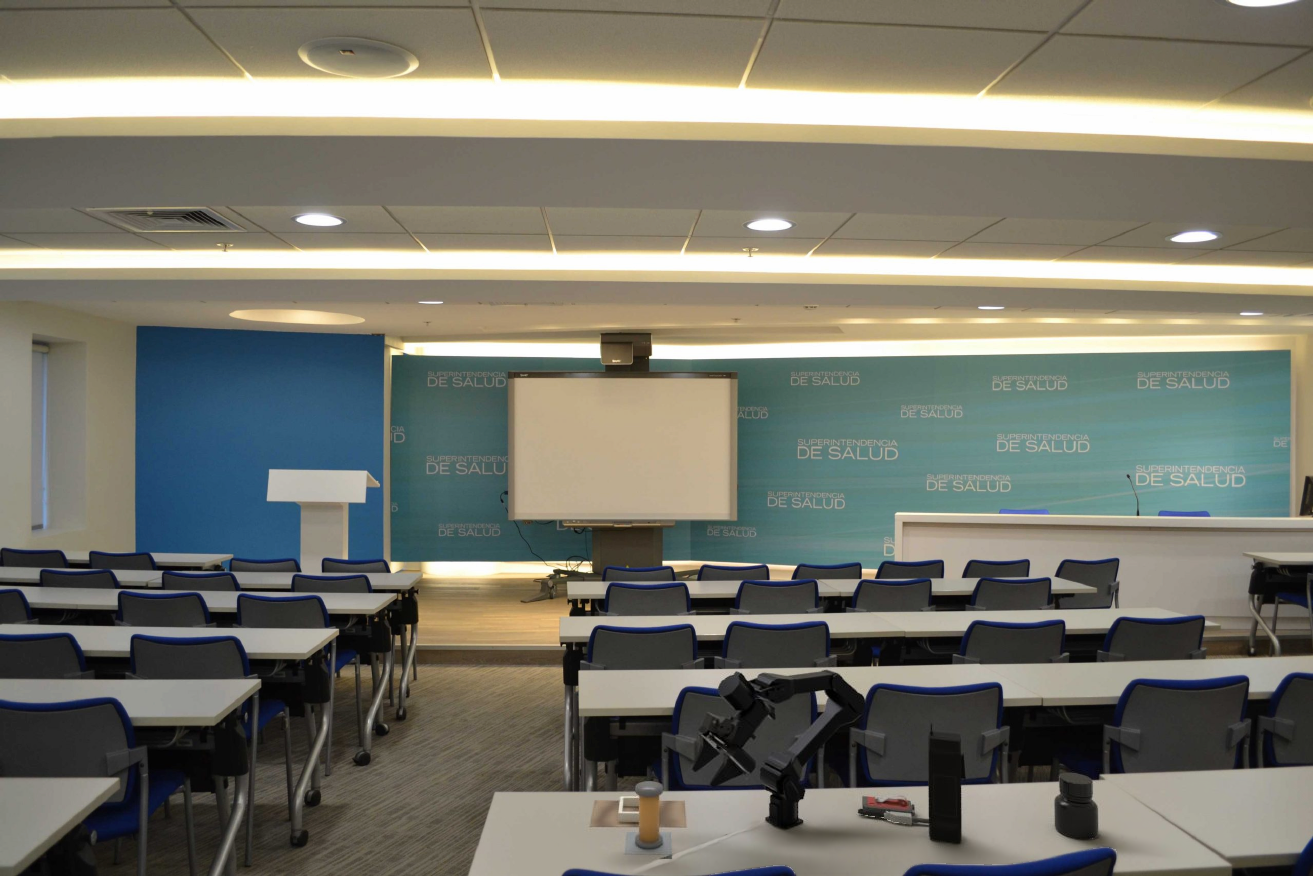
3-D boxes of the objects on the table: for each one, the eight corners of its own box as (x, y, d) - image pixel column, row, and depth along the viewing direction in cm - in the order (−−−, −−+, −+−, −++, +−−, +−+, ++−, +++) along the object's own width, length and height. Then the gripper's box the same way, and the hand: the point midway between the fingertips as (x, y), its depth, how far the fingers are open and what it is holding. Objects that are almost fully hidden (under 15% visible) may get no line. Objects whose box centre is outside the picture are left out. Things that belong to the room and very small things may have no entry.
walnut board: (684, 805, 195) (684, 800, 195) (686, 831, 181) (686, 827, 181) (594, 804, 195) (594, 800, 195) (589, 831, 181) (589, 826, 181)
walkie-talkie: (857, 822, 187) (948, 831, 183) (857, 802, 187) (948, 811, 183) (857, 806, 196) (943, 814, 191) (857, 788, 196) (943, 796, 191)
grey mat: (671, 836, 178) (671, 832, 178) (671, 859, 168) (671, 854, 168) (626, 836, 178) (626, 832, 178) (624, 859, 168) (624, 854, 168)
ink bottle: (1099, 827, 184) (1098, 775, 184) (1102, 844, 176) (1101, 789, 176) (1051, 819, 188) (1051, 768, 188) (1053, 835, 180) (1052, 781, 180)
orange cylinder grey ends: (643, 834, 177) (643, 779, 178) (667, 840, 175) (667, 784, 175) (630, 845, 172) (630, 789, 173) (654, 852, 169) (654, 794, 170)
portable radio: (965, 833, 180) (964, 722, 181) (966, 845, 175) (965, 730, 175) (928, 828, 183) (928, 718, 184) (928, 840, 177) (927, 726, 178)
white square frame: (658, 805, 193) (658, 796, 193) (658, 822, 183) (658, 813, 183) (620, 804, 193) (620, 796, 193) (618, 822, 183) (618, 813, 183)
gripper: (705, 688, 188) (662, 742, 184) (743, 711, 171) (696, 771, 166) (735, 718, 191) (693, 771, 186) (775, 744, 174) (730, 803, 169)
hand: (702, 778), depth 177 cm, fingers open, 9 cm apart
